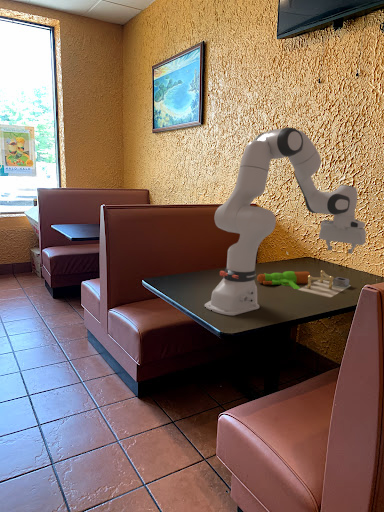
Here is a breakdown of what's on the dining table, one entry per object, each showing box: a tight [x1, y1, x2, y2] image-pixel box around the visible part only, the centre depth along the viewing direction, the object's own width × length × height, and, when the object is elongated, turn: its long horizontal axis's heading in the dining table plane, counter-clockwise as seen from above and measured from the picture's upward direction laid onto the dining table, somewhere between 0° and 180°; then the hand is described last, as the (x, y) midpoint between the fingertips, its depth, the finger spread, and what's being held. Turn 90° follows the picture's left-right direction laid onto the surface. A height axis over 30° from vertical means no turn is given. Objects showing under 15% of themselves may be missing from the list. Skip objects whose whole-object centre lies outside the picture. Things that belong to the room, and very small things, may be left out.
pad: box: [332, 284, 352, 290], centre depth 177 cm, size 7×7×1 cm
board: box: [297, 280, 348, 298], centre depth 173 cm, size 25×15×1 cm, turn 139°
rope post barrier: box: [307, 269, 335, 289], centre depth 173 cm, size 16×9×6 cm, turn 139°
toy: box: [256, 270, 312, 290], centre depth 176 cm, size 7×25×15 cm
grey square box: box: [333, 276, 350, 288], centre depth 176 cm, size 6×6×3 cm
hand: (339, 251), depth 173 cm, fingers open, 8 cm apart
